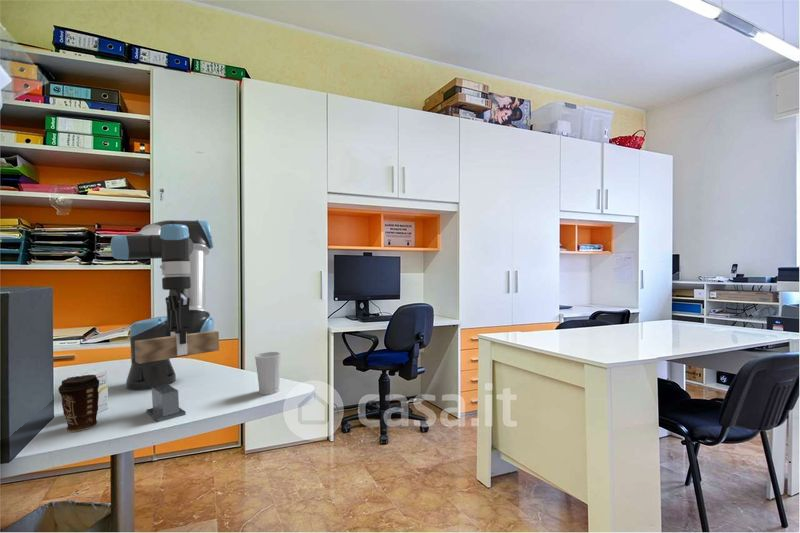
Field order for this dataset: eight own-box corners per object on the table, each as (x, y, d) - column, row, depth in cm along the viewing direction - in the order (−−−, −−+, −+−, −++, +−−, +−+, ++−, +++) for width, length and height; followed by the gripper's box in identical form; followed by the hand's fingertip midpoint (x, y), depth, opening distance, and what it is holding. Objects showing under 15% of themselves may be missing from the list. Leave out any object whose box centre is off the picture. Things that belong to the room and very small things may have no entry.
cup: (251, 392, 133) (250, 355, 133) (274, 386, 139) (272, 350, 139) (264, 397, 128) (262, 358, 128) (286, 390, 134) (285, 353, 133)
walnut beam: (139, 363, 114) (138, 342, 114) (135, 362, 117) (134, 340, 117) (219, 350, 130) (218, 331, 130) (214, 349, 132) (213, 330, 133)
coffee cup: (77, 421, 112) (74, 374, 112) (109, 419, 113) (106, 372, 113) (52, 435, 104) (50, 383, 104) (87, 432, 104) (85, 381, 104)
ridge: (146, 412, 118) (145, 388, 118) (173, 405, 123) (172, 382, 123) (157, 422, 110) (156, 396, 110) (185, 414, 115) (184, 389, 115)
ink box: (95, 408, 123) (93, 368, 123) (109, 408, 122) (107, 369, 122) (66, 419, 115) (64, 377, 114) (82, 420, 114) (80, 377, 113)
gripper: (153, 277, 126) (156, 353, 126) (172, 275, 115) (175, 359, 115) (179, 276, 132) (182, 349, 132) (200, 274, 120) (203, 354, 120)
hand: (179, 353), depth 123 cm, fingers closed on walnut beam, 4 cm apart
